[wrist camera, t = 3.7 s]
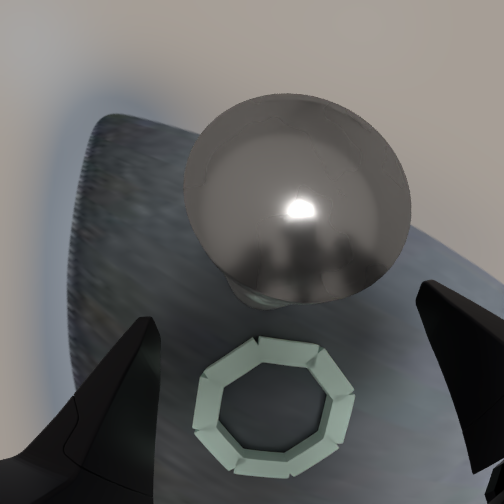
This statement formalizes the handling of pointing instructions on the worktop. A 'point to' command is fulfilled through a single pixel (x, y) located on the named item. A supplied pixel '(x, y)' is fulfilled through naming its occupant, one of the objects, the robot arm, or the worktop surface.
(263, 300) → the glass jar
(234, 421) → the worktop surface
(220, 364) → the collar ring
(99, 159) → the worktop surface
